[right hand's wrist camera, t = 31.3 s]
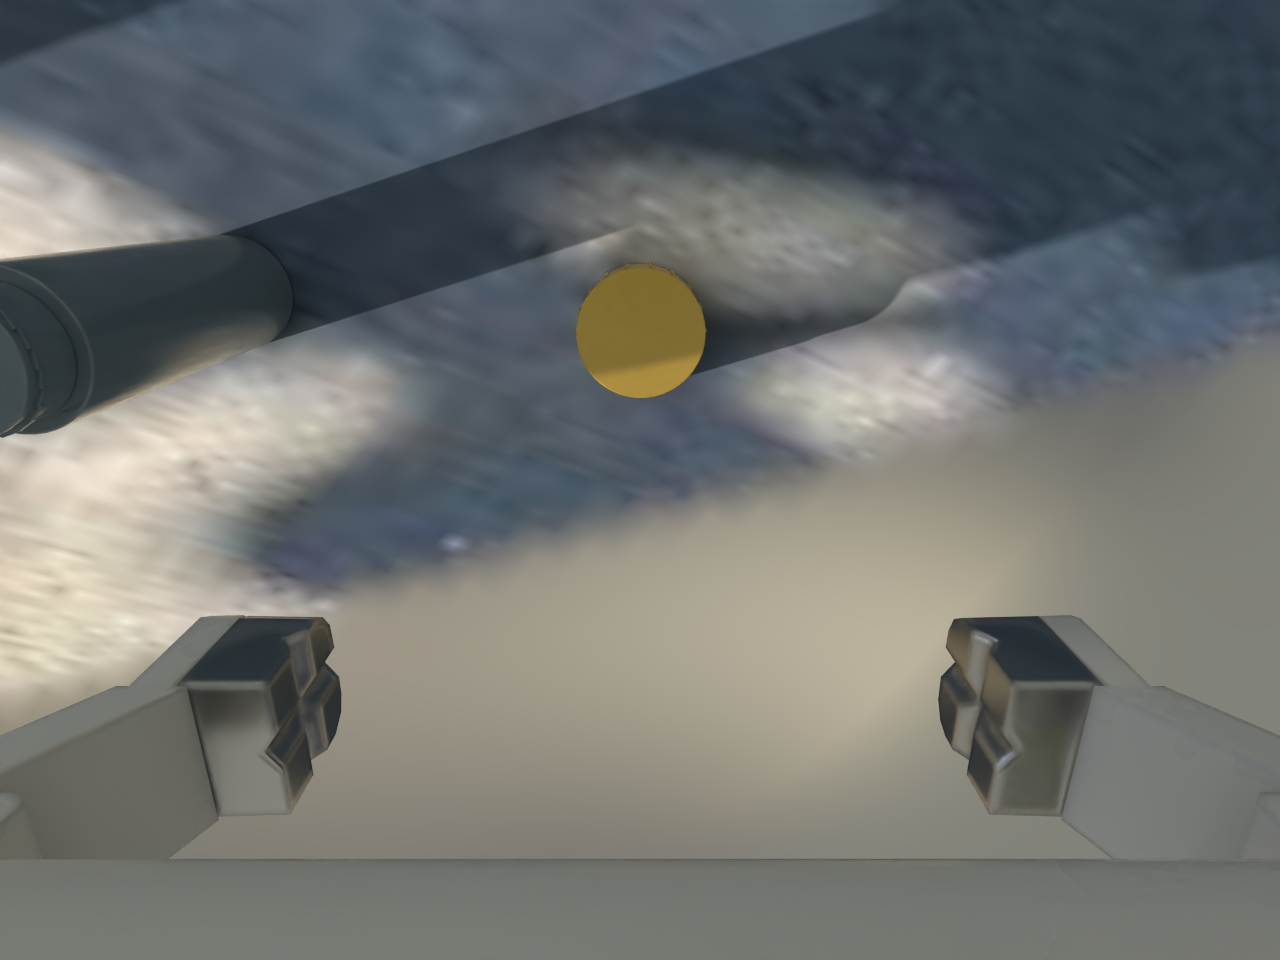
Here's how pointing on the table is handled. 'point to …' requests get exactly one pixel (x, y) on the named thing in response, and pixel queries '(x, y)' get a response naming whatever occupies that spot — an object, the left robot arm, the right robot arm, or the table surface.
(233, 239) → the jar
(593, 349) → the lid
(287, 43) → the table surface
